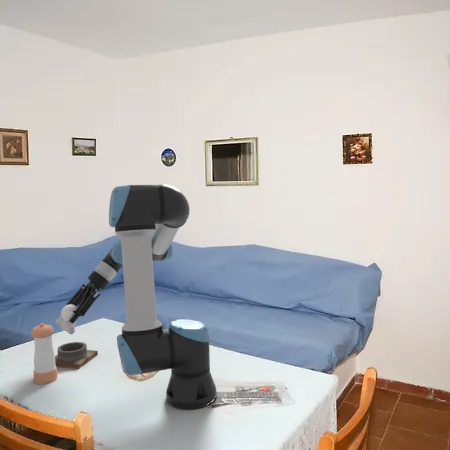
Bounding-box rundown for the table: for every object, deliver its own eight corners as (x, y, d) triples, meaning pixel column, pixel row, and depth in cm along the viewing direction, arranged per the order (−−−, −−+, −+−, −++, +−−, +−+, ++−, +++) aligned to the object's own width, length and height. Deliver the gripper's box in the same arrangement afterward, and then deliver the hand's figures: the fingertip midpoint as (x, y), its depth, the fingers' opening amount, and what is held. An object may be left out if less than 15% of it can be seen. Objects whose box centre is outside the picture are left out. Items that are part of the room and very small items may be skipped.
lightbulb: (62, 332, 169) (60, 303, 167) (80, 329, 170) (78, 301, 169) (62, 337, 163) (60, 308, 161) (80, 335, 164) (78, 306, 163)
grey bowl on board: (78, 368, 159) (78, 355, 159) (46, 365, 163) (45, 352, 162) (97, 354, 172) (97, 341, 171) (67, 352, 175) (66, 339, 175)
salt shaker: (47, 372, 157) (44, 319, 155) (62, 377, 153) (58, 322, 151) (29, 381, 151) (25, 325, 149) (43, 385, 147) (39, 328, 145)
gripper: (119, 286, 166) (77, 339, 158) (99, 277, 181) (60, 325, 174) (104, 274, 162) (60, 328, 154) (86, 266, 178) (45, 314, 170)
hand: (60, 326), depth 164 cm, fingers closed on lightbulb, 6 cm apart
